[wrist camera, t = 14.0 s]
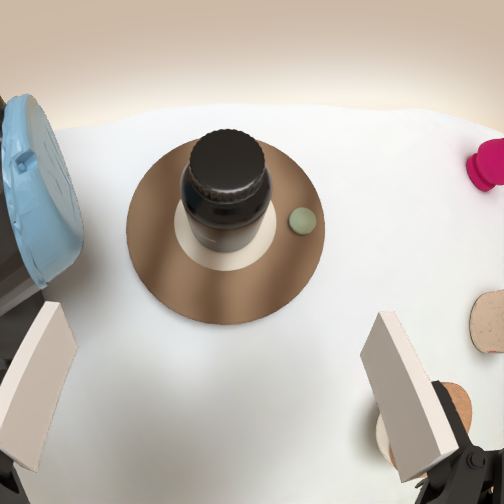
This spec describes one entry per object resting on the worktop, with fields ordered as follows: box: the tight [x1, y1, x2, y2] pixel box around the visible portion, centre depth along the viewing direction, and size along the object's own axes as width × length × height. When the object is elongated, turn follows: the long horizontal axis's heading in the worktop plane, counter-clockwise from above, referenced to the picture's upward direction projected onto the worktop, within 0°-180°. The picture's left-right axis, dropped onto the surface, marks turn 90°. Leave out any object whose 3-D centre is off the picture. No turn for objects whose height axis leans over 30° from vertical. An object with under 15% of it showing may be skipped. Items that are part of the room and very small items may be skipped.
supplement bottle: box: [180, 129, 273, 253], centre depth 24 cm, size 7×7×12 cm
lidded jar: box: [376, 381, 472, 478], centre depth 25 cm, size 11×11×9 cm
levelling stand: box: [126, 138, 325, 325], centre depth 31 cm, size 20×20×4 cm
